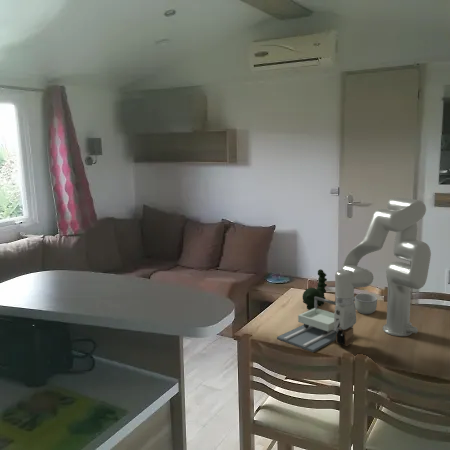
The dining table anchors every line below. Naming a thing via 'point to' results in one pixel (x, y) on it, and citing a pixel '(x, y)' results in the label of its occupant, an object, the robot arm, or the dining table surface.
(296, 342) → the track
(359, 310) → the teacup
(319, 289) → the toy figurine
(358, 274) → the robot arm
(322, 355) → the dining table surface
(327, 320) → the shallow sage tray
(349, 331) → the walnut block
